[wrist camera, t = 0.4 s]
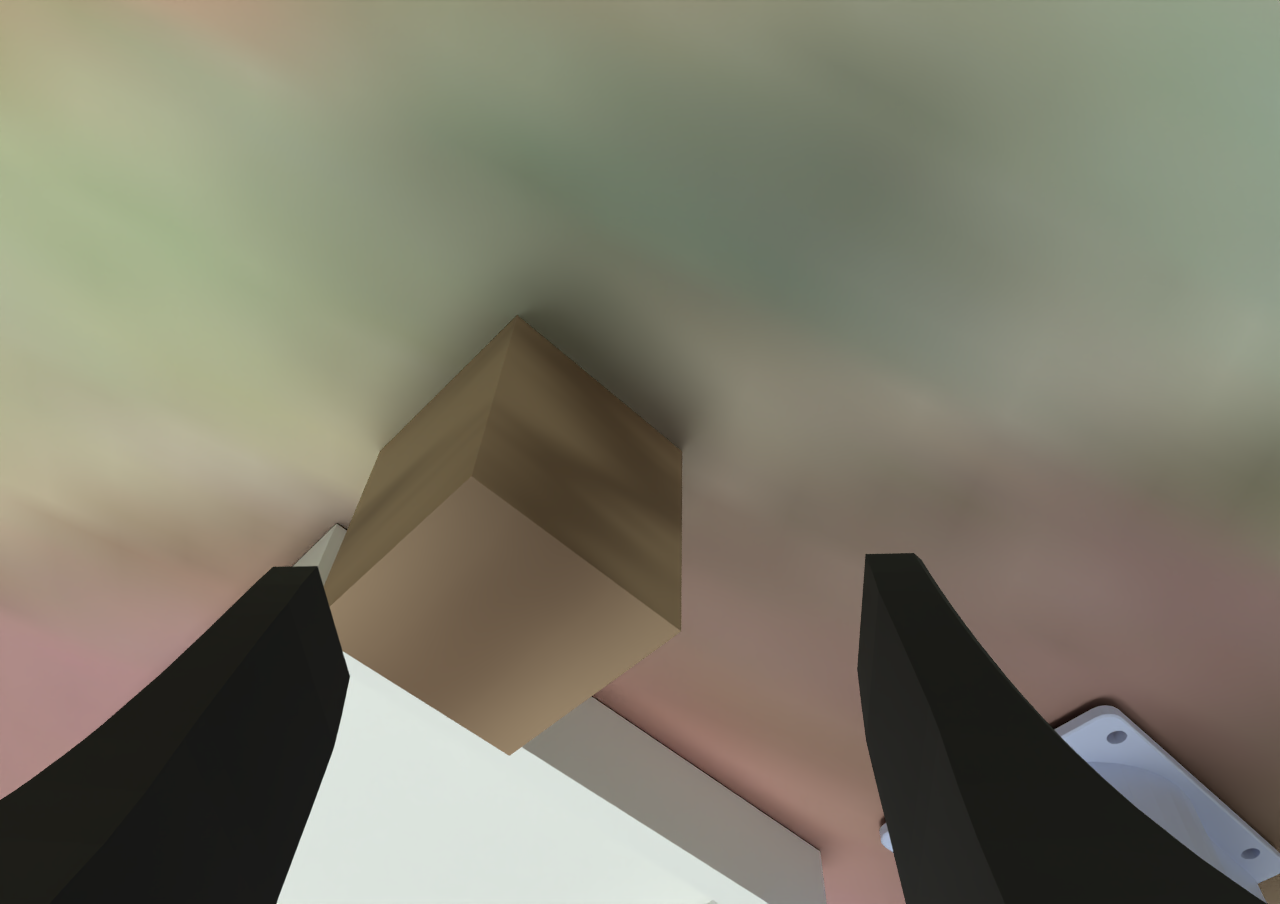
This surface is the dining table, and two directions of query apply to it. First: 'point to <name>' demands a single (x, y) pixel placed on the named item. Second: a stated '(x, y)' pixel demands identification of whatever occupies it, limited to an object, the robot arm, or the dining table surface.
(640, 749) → the tray
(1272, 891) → the dining table surface
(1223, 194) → the dining table surface
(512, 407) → the walnut block
